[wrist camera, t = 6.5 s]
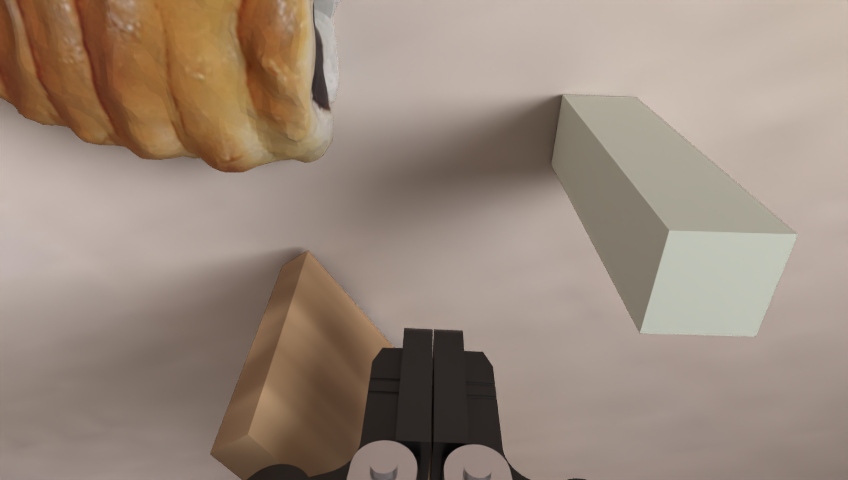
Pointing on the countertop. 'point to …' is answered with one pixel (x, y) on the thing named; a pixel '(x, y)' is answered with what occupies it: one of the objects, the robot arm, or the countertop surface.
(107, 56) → the pastry
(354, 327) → the door
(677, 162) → the grey rectangular block
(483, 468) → the robot arm
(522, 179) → the countertop surface
